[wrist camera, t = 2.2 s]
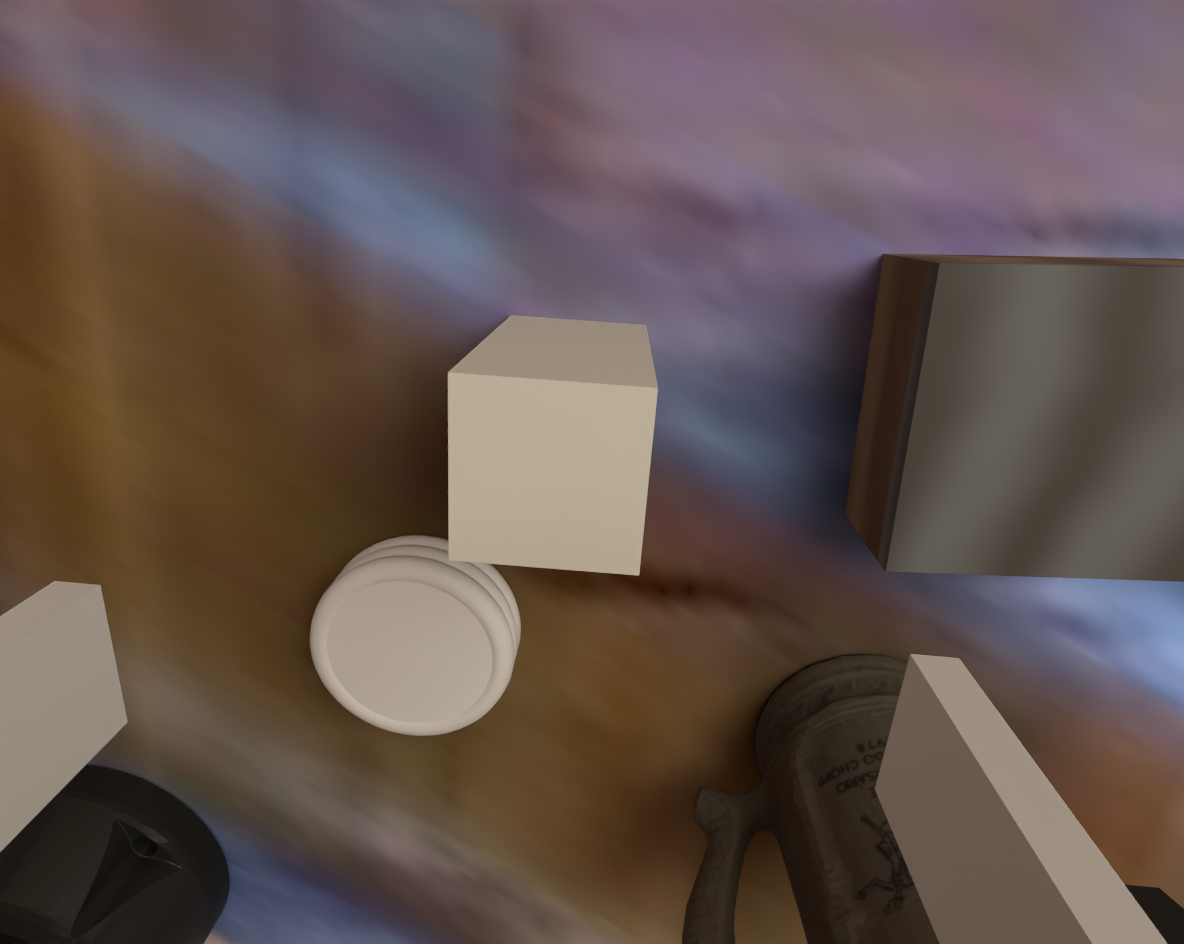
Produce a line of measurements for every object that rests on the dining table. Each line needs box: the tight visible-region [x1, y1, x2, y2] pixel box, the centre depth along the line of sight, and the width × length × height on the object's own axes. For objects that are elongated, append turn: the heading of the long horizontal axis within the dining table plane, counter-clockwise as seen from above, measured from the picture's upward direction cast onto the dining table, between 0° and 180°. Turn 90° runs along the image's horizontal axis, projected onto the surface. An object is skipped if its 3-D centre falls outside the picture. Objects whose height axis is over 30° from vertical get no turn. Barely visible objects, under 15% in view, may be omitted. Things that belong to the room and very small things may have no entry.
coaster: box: [310, 535, 521, 736], centre depth 36 cm, size 10×10×4 cm
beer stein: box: [682, 655, 940, 944], centre depth 30 cm, size 15×11×20 cm
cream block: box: [448, 315, 658, 575], centre depth 27 cm, size 6×6×12 cm
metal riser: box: [845, 254, 1184, 581], centre depth 29 cm, size 12×12×6 cm
